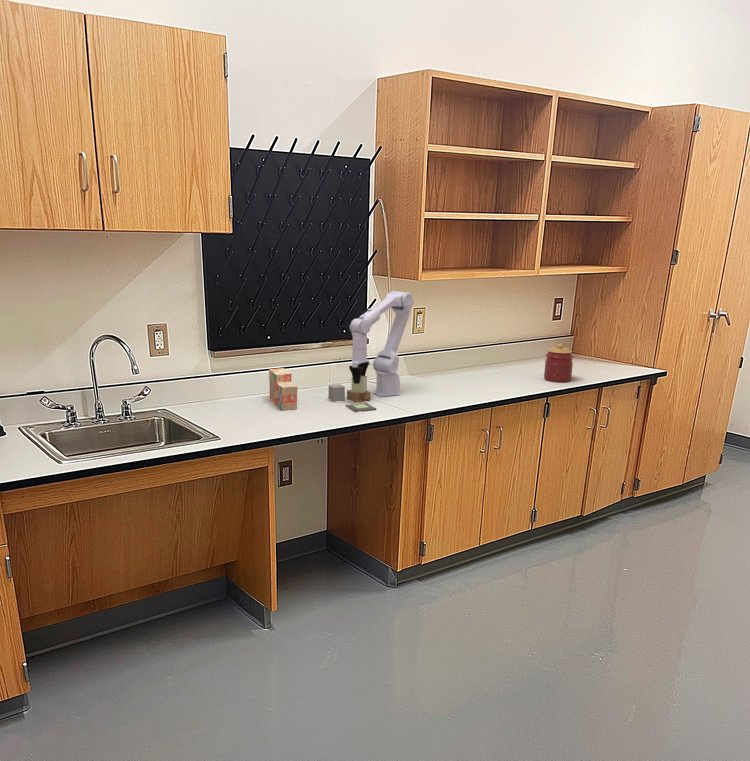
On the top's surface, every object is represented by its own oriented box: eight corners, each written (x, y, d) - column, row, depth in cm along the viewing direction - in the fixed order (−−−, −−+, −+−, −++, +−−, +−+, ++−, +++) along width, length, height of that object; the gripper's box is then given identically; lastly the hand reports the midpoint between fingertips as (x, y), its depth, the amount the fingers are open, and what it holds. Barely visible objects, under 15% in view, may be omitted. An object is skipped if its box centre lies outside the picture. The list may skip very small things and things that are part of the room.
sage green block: (355, 389, 280) (355, 375, 278) (366, 390, 278) (366, 376, 277) (351, 392, 275) (351, 377, 274) (363, 393, 274) (363, 378, 272)
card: (366, 404, 271) (366, 402, 270) (376, 409, 263) (376, 407, 263) (345, 406, 267) (345, 404, 267) (355, 412, 259) (355, 409, 259)
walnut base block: (361, 397, 282) (361, 388, 281) (370, 401, 277) (370, 392, 276) (346, 399, 279) (347, 390, 278) (355, 403, 273) (355, 394, 272)
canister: (559, 376, 333) (562, 340, 329) (577, 381, 322) (580, 345, 318) (537, 377, 328) (540, 341, 324) (555, 383, 316) (558, 346, 312)
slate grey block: (339, 398, 280) (339, 384, 278) (344, 401, 275) (344, 386, 274) (328, 399, 277) (328, 385, 276) (333, 402, 273) (333, 387, 272)
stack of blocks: (297, 409, 261) (297, 378, 258) (281, 411, 259) (281, 379, 256) (284, 396, 280) (284, 367, 278) (269, 397, 278) (268, 368, 275)
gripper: (364, 352, 265) (364, 386, 268) (373, 346, 279) (373, 378, 282) (347, 351, 267) (346, 384, 270) (357, 345, 280) (356, 377, 283)
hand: (359, 381), depth 276 cm, fingers open, 7 cm apart
